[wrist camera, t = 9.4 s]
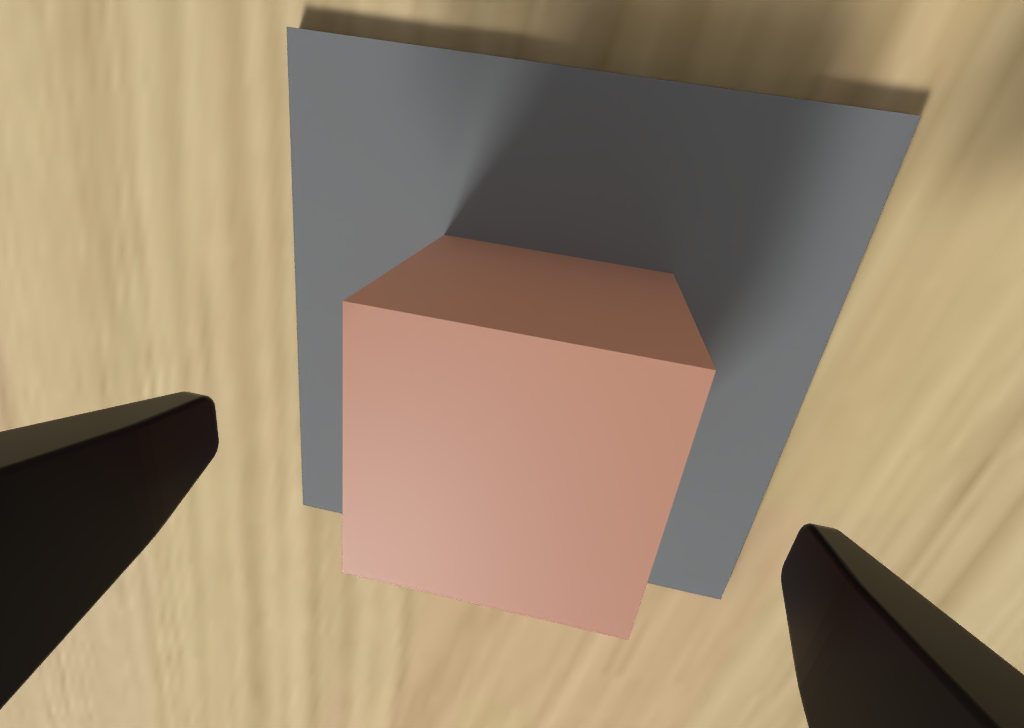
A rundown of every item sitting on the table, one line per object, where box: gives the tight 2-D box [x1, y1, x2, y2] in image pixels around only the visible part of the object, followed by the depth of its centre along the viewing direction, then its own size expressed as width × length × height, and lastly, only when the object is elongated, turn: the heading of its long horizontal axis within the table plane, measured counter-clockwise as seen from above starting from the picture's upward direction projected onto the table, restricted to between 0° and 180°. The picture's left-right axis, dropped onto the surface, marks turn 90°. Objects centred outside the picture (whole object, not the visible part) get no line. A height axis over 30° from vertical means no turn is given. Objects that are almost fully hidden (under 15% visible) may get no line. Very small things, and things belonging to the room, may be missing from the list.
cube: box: [342, 235, 716, 640], centre depth 10 cm, size 5×5×5 cm
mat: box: [287, 27, 921, 599], centre depth 13 cm, size 12×12×1 cm
